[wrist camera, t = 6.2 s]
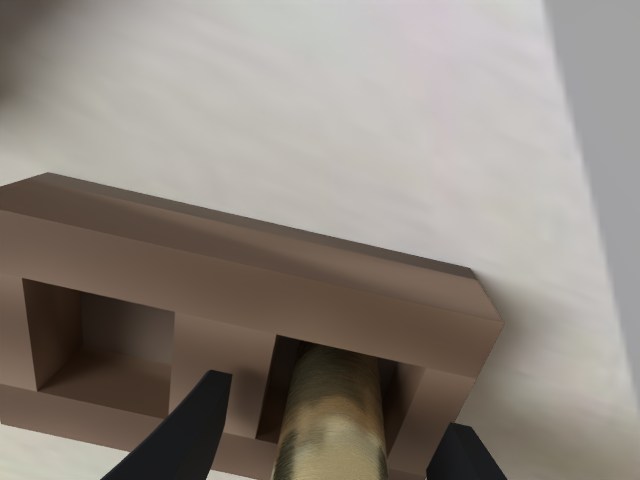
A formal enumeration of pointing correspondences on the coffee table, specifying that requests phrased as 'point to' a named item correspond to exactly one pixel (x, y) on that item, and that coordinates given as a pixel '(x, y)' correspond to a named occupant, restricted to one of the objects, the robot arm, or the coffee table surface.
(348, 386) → the brass pin
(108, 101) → the coffee table surface
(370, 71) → the coffee table surface
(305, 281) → the socket block
